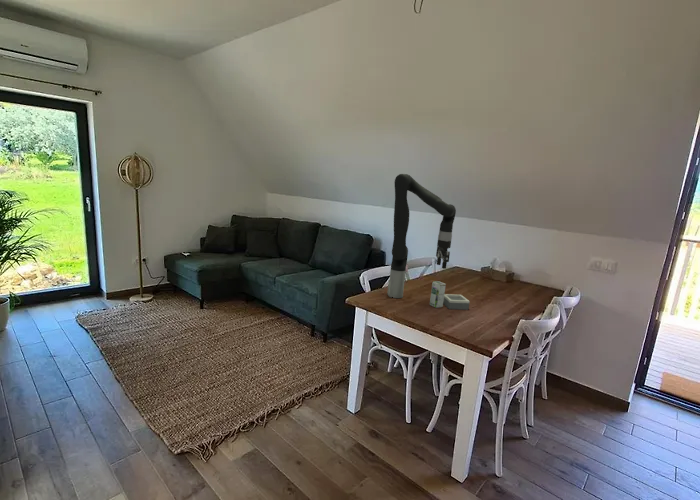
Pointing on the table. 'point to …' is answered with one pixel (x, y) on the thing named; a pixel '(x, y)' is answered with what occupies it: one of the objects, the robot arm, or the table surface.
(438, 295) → the syrup box
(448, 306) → the plinth
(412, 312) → the table surface
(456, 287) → the table surface
